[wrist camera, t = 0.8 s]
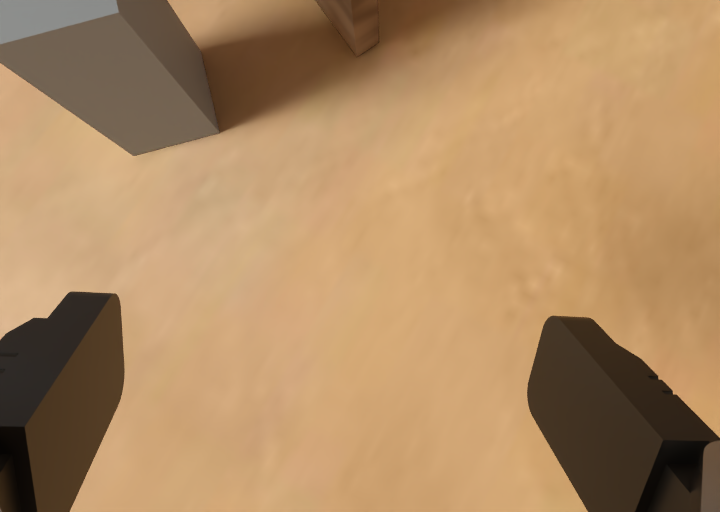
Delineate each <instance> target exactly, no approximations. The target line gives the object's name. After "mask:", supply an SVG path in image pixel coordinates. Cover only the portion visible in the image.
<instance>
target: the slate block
mask: <svg viewBox="0 0 720 512" xmlns="http://www.w3.org/2000/svg"><path fill="white" fill-rule="evenodd" d="M0 63H1V64H3V65H4V66H5V67H7V68H8V69H10V70H11V71H13V72H14V73H16V74H17V75H18V76H20V77H21V78H23V79H24V80H26V81H27V82H28V83H30V84H31V85H33V86H34V87H36V88H37V89H38V90H40V91H41V92H43V93H44V94H46V95H47V96H48V97H50V98H51V99H53V100H54V101H56V102H57V103H58V104H60V105H61V106H63V107H64V108H66V109H67V110H68V111H70V112H71V113H73V114H74V115H76V116H77V117H79V118H80V119H81V120H83V121H84V122H86V123H87V124H89V125H90V126H91V127H93V128H94V129H96V130H97V131H99V132H100V133H101V134H103V135H104V136H106V137H107V138H109V139H110V140H111V141H113V142H114V143H116V144H117V145H119V146H120V147H121V148H123V149H124V150H126V151H127V152H129V153H130V154H131V155H133V156H135V155H139V154H143V153H146V152H150V151H154V150H158V149H162V148H165V147H169V146H173V145H177V144H180V143H184V142H188V141H192V140H196V139H199V138H203V137H207V136H211V135H214V134H218V133H220V132H219V128H218V123H217V119H216V115H215V110H214V106H213V102H212V97H211V93H210V89H209V84H208V80H207V76H206V71H205V67H204V63H203V58H202V54H201V51H200V50H199V48H198V47H197V45H196V43H195V42H194V40H193V39H192V37H191V36H190V34H189V33H188V31H187V30H186V28H185V27H184V25H183V24H182V22H181V21H180V19H179V18H178V16H177V15H176V13H175V12H174V10H173V9H172V7H171V6H170V4H169V3H168V1H167V0H0Z"/></svg>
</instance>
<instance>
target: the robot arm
mask: <svg viewBox="0 0 720 512" xmlns="http://www.w3.org/2000/svg"><path fill="white" fill-rule="evenodd" d="M123 384H124V354H123V337H122V321H121V306H120V300H119V297H118V296H117V294H112V293H92V292H69V293H68V294H67V295H66V296H65V298H64V299H63V300H62V301H61V302H60V304H59V305H58V306H57V307H56V309H55V310H54V311H53V312H52V313H51V315H50V316H49V317H48V318H33V319H31V320H30V321H28V322H26V323H24V324H22V325H21V326H19V327H17V328H15V329H13V330H12V331H10V332H8V333H6V334H5V336H4V337H3V338H2V339H1V340H0V512H70V509H71V507H72V505H73V503H74V501H75V498H76V496H77V494H78V492H79V490H80V488H81V485H82V483H83V481H84V479H85V477H86V474H87V472H88V470H89V468H90V466H91V464H92V461H93V459H94V457H95V455H96V453H97V450H98V448H99V446H100V444H101V442H102V440H103V437H104V435H105V433H106V431H107V429H108V426H109V424H110V422H111V420H112V418H113V416H114V413H115V411H116V409H117V407H118V404H119V402H120V399H121V395H122V390H123ZM527 397H528V405H529V409H530V412H531V414H532V416H533V418H534V420H535V421H536V423H537V425H538V427H539V428H540V430H541V432H542V433H543V435H544V437H545V439H546V440H547V442H548V444H549V445H550V447H551V449H552V451H553V452H554V454H555V456H556V457H557V459H558V461H559V463H560V464H561V466H562V468H563V469H564V471H565V473H566V475H567V476H568V478H569V480H570V481H571V483H572V485H573V487H574V488H575V490H576V492H577V493H578V495H579V497H580V499H581V500H582V502H583V504H584V505H585V507H586V509H587V511H588V512H720V438H719V437H718V436H717V435H716V434H715V433H714V432H713V431H712V430H711V429H710V428H709V427H708V426H707V425H706V424H705V423H704V422H703V421H702V420H701V419H700V418H699V417H698V416H697V415H696V414H695V413H694V412H693V411H692V410H691V409H690V408H689V407H688V406H687V405H686V404H685V403H684V402H683V401H682V400H681V399H680V398H679V397H678V396H677V395H673V391H672V390H671V389H670V388H669V387H668V386H667V385H666V384H665V383H664V382H663V381H662V380H658V376H657V375H656V374H655V373H654V372H653V371H652V370H651V369H650V367H649V366H648V365H647V364H646V363H645V362H644V361H643V360H642V359H640V358H639V357H637V356H635V355H634V354H632V353H631V352H629V351H627V350H626V349H624V348H623V347H621V346H619V345H618V344H616V343H615V342H614V341H613V340H612V339H611V338H610V337H609V336H608V335H607V334H606V333H605V331H604V330H603V329H602V328H601V327H600V326H599V325H598V324H597V323H596V322H595V321H594V320H593V319H591V318H586V317H566V316H551V317H549V318H548V319H547V320H546V322H545V324H544V326H543V329H542V333H541V337H540V341H539V344H538V348H537V352H536V356H535V359H534V363H533V367H532V371H531V374H530V378H529V382H528V390H527Z"/></svg>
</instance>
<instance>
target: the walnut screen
mask: <svg viewBox="0 0 720 512" xmlns="http://www.w3.org/2000/svg"><path fill="white" fill-rule="evenodd" d="M315 1H316V2H317V3H318V5H319V6H320V7H321V9H322V10H323V12H324V13H325V14H326V16H327V17H328V18H329V20H330V21H331V22H332V24H333V25H334V26H335V28H336V29H337V31H338V32H339V33H340V35H341V36H342V37H343V39H344V40H345V41H346V43H347V44H348V45H349V47H350V48H351V50H352V51H353V52H354V54H355V55H356V56H357V57H358V56H359V55H361V54H362V53H364V52H365V51H367V50H368V49H370V48H371V47H373V46H374V45H376V44H377V43H379V25H378V0H315Z"/></svg>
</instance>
